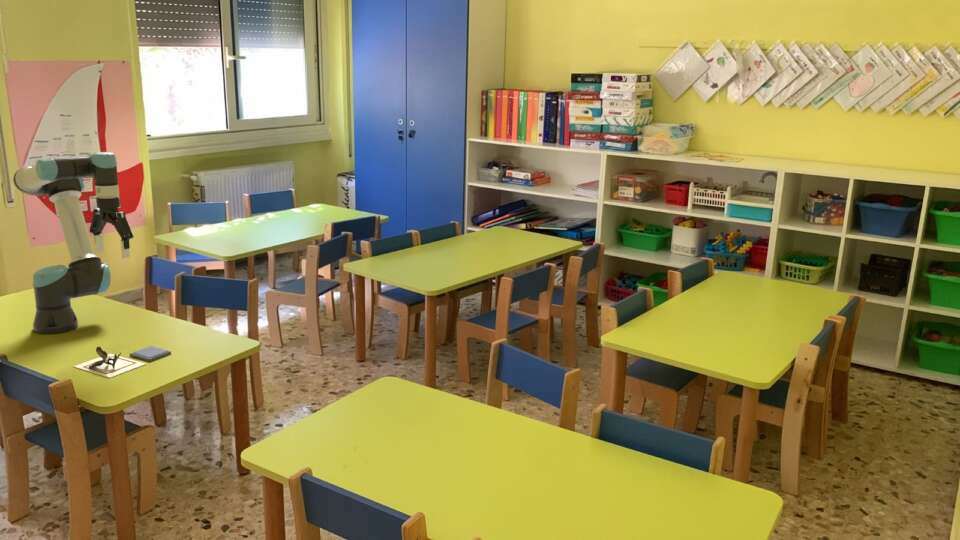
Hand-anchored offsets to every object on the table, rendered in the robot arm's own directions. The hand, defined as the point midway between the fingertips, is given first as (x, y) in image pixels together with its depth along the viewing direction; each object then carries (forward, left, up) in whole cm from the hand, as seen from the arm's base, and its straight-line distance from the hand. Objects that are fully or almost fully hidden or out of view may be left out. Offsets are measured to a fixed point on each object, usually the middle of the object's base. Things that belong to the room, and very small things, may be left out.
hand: (113, 255), depth 284 cm
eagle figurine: (+20, -22, -31) cm, 43 cm away
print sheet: (+20, -20, -32) cm, 42 cm away
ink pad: (+23, -6, -32) cm, 40 cm away
